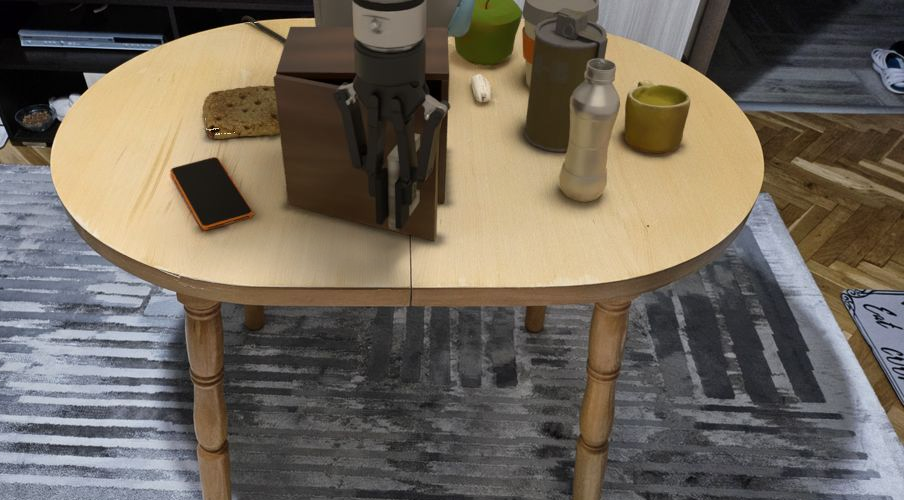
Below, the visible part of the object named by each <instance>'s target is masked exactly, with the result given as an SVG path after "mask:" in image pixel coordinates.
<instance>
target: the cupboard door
mask: <svg viewBox="0 0 904 500" xmlns="http://www.w3.org/2000/svg"><path fill="white" fill-rule="evenodd" d="M272 78H273V86H274V88H275V96H276V105H277V113H278V122H279V130H280V134H279V137H280V147H281V155H282V163H283V172H284V180H285V187H286V188H285V189H286V197H287V206H289V207H292V208H296V209H301V210H305V211H309V212H314V213H317V214H322V215H326V216H331V217H334V218H338V219H342V220H347V221H349V222H350V221H351V222H355V223H359V224H364V225H367V226H371V227H375V228H379V229H383V230H387V231H392V232H395V233H400V234H404V235H408V236H412V237H416V238H421V239H425V240H428V241H433V242H434V241H435V240H436V238H437V232H438V231H437V230H438V229H437V228H438V203H437V199H438V164H439V138H438V144H437V149H436V154H435V159H434V164H433V170H432V172H431V173H430V175H429V176H428V178H427V179H426V181H425V182H424V183H419V182H417V189H416V198H415V200H414V201H413V203H412V204H411V206H410V205H409V219H408V220H407V222H406V223H405V225H404V226H403V228H402V229H401V230H400V229H396V226H395V183H396V181H397V180H398V179H399V177H400V167H399V158H398V149H397V139H396V133H395V132H394V130H393V122H391V121H389V120H387V124H386V136H385V149H384V161H385V160H386V162H385V163H384V164H383V166H382V169H383V168H387V171H388V217H387V218H386V220H385V221H384V223H383V224H382V225H379V224H376V202H375V198H374V197H370V195H369V191H368V189H369V188H368V175H367V174H366V172H365V171H364V170H362V169H355V168H353V166H352V163H351V158H350V153H349V149H348V144H347V139H346V134H345V129H344V124H343V120H342V115H341V111H340V109H339V107H338V105H337V104H336V102H335V100H334V98H333V93H334V92H335V91H336V90H337V89H338V88H339V87H340V86H337V85H332V84H327V83H321V82H316V81H311V80H306V79H300V78H295V77H290V76H284V75H279V74H276V73H275V75H274V76H273V77H272ZM358 101H359V104H360V109H361V114H362V120H363V125H364V130H365V135H366V141H367V146H368V130H369V126H367V118H368V110H367V109H366V107H365V106H364V104H363V103H362V101H361V100H360V98H358ZM424 112H425V108H424V106H423V105H422V106H421V107H420V108H419V109H418V110H417V111H416V112H415V120H414V133H415V143H416V154H417V165H418V160H419V154H420V149H421V143H422V137H423V132H424V127H425V124H426V122H427V121H428V120H426V119H425V116H424Z"/></svg>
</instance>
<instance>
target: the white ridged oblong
mask: <svg viewBox="0 0 904 500" xmlns="http://www.w3.org/2000/svg"><path fill="white" fill-rule="evenodd" d="M471 89H472V92H473V96H474V99H476V100H477V102H479V103H482V102H489V101H490V99H491V98H492V86H491V84H490V82H489V80H488V79H487V77H485V76H484V75H482V74H481V73H477V74H474V75H472V77H471Z"/></svg>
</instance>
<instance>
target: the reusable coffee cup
mask: <svg viewBox="0 0 904 500" xmlns="http://www.w3.org/2000/svg"><path fill="white" fill-rule="evenodd" d="M522 7H523V8H522V17H523V20H524V26H523V27H522V29H521V32H522V34H521V35H522V37H521V38H522V57H523V58H524V60H525V82H526V86H527V87H528V88H530V81H531V72H532V63H533V54H534V44H535V33H534V30H535V27H536V26H537V24H539V23H540V22H542V21H545V20H547V19H551V18H557V15H556V16H555V15H554V14H553V13H555V12H557V11H559V10H561V9H562V8H568V9H572V10H575V11H582V12H585V13H586V14H587V20H589V21H592V22H595V23H597V22H598V21H599V11H600V0H524V4H523V6H522Z"/></svg>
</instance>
